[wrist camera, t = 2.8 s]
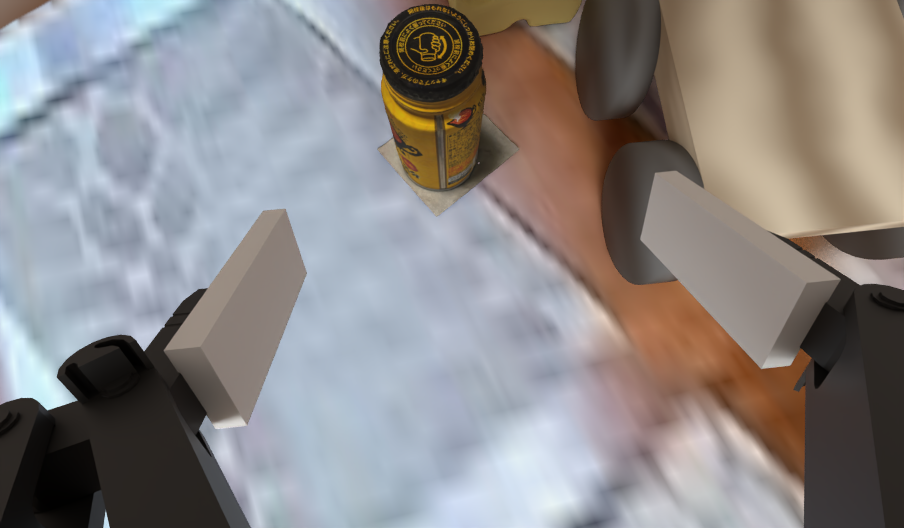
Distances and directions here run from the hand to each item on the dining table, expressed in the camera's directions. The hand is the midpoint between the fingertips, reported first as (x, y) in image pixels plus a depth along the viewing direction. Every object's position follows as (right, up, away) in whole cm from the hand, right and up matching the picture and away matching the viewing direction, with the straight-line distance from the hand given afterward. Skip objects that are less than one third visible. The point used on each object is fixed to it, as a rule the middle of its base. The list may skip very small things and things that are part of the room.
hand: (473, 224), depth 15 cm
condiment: (-1, +7, +17) cm, 19 cm away
